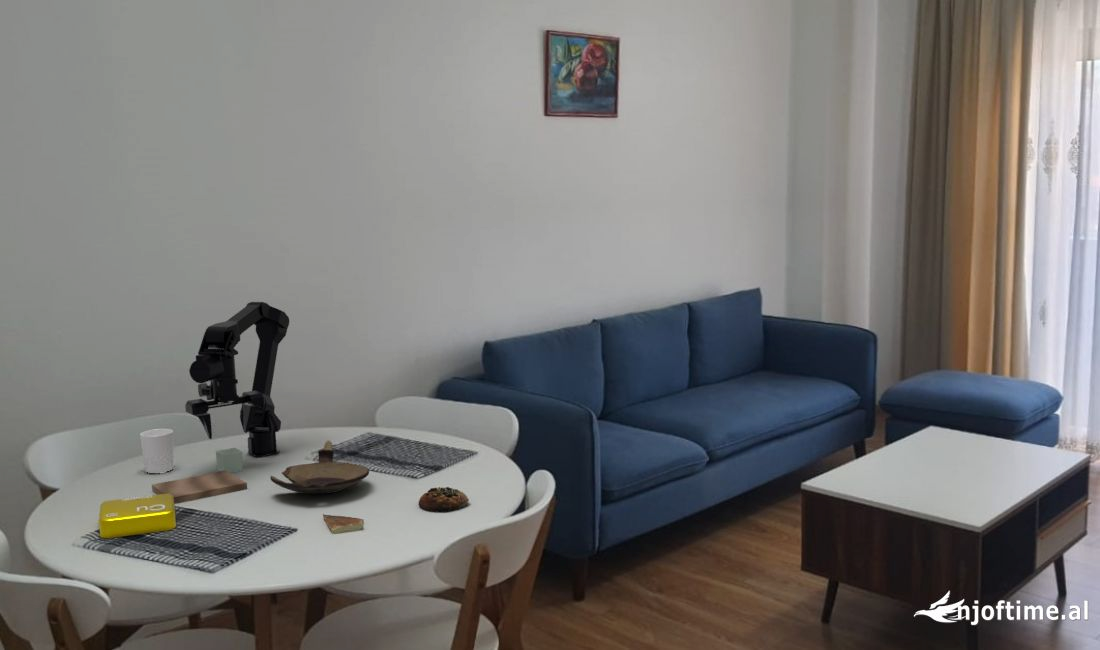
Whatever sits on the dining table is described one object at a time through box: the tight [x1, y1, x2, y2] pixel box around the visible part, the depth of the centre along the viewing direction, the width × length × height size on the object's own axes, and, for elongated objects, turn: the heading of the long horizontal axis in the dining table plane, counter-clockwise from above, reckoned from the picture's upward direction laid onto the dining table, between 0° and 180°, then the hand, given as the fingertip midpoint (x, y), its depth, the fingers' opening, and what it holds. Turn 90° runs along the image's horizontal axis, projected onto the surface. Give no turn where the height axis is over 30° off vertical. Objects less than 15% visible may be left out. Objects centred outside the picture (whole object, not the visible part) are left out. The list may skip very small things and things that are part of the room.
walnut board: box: [151, 471, 248, 505], centre depth 253 cm, size 18×14×2 cm
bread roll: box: [418, 486, 470, 513], centre depth 237 cm, size 11×11×5 cm
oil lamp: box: [269, 439, 370, 495], centre depth 252 cm, size 22×30×8 cm
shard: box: [322, 513, 365, 535], centre depth 226 cm, size 11×8×2 cm
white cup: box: [139, 428, 175, 474], centre depth 270 cm, size 8×8×10 cm
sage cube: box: [215, 447, 244, 474], centre depth 269 cm, size 5×5×5 cm
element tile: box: [98, 494, 177, 539], centre depth 229 cm, size 15×15×5 cm
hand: (228, 435), depth 269 cm, fingers open, 9 cm apart
